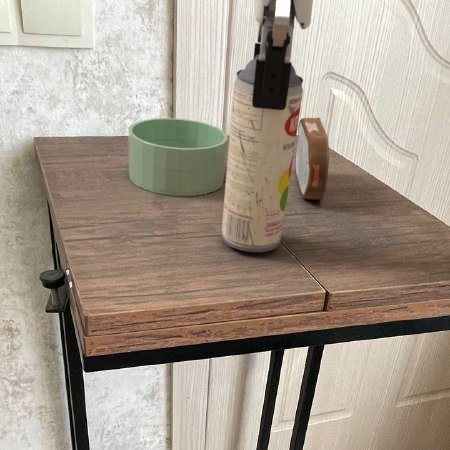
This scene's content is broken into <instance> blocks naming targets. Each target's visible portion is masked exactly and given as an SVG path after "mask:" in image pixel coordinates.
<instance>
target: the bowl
mask: <svg viewBox="0 0 450 450" xmlns="http://www.w3.org/2000/svg"><path fill="white" fill-rule="evenodd" d="M228 137H229V135H228V134H227V133H226V131H224V130H222V129H221V128H219V127H217V126H215V125H213V124H210V123H206V122H202V121H199V120H193V119H189V118H188V119H186V118H177V117H162V118H161V117H159V118H158V117H157V118H149V119H142V120H139V121H136V122H134V123H133V124H131V125H130V126H129V127H128V130H127V148H128V149H127V150H128V151H127V152H128V155H127V157H128V160H127V161H128V177H129V180H130V181H131V183H132V184H134V185H135V186H137V187H139V188H140V187H141V188H140V189H142V188H143V190H145V191H147V190H148V192H151V193H155V194H158V195H163V196H164V195H165V196H171V197H172V196H173V197H198V196H204V195H208V194H207V193H209V194H211V193H210V192H212V193H214V192H216V191H215V190H217V189H218V190H220V189H221V188H222V187H223V186H224V184H225V183H224V182H225V174H226V173H225V172H226V162H227V161H226V160H227V152H228V150H227V149H228V140H229V139H228ZM219 188H220V189H219ZM218 190H217V191H218ZM213 191H214V192H213ZM203 194H204V195H203ZM197 195H198V196H197Z"/></svg>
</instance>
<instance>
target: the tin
mask: <svg viewBox="0 0 450 450" xmlns="http://www.w3.org/2000/svg"><path fill="white" fill-rule="evenodd" d="M297 134H298V135H297V146H296V151H295V157H294V159H295V160H294V161H295V163H294V164H295V165H294V167H295V176H296V181H297V184H298V188H299V192H300V195H301V198H302V199H303V200H314V201H315V200H317V201H322V200H324V197H325V194H326V190H327V185H328V179H329V178H328V177H329V176H328V175H329V166H330V165H329V164H330V145H329V144H330V142H329V137H328V134H327V132H326V129H325V127H324V124H323V122H322V120H321V117H320V116H319V117H302V118H300V119H299V122H298V128H297Z"/></svg>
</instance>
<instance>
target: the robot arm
mask: <svg viewBox="0 0 450 450" xmlns="http://www.w3.org/2000/svg"><path fill="white" fill-rule="evenodd" d="M313 4H314V0H253V5H254V7H253V8H254V17H255V21H256V22H257V23H258V31H257V42H255V43H254V50H253V59H255V56H256V55H260V59H256V68H255V78H254V88H253V98H252V105H253V107H255V108H264V109H275V110H284V109H285V108H286V102H287V95H288V87H289V80H290V73H291V65H292V66H293V63H292V62H291V58H292V48H293V40H294V39H293V37H294V29H295V19H296V22H297V23H298V25H299V27H300V28H301V30H306V29H308V27H310V26H311V21H312V13H313ZM267 42H268V44H267Z"/></svg>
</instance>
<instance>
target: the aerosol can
mask: <svg viewBox="0 0 450 450" xmlns="http://www.w3.org/2000/svg"><path fill="white" fill-rule="evenodd" d="M267 44H268V42H267ZM256 59H260V55H256V56H255V59H254V58H253V59H251V60H249V61H248V63H247V64H245V67H244V68H243V69H239V70H238V71H236V74H235V76H236V78H235V80H234V82H233V92H232V93H233V94H232V104H231V115H230V119H231V120H230V126H229V127H230V128H229V139H228V150H227V152H228V153H227V161H226V162H227V164H226V173H225V174H226V176H225V186H224V187H225V188H224V200H223V209H222V210H223V211H222V220H221V221H222V222H221V223H222V224H221V232H220V233H221V235H220V236H221V240H222V241H223V243H225V244H226V245H228V246H229V247H231V248H232V249H233V248H234V249H236V250H239V251H243V252H249V253H264V252H269V251H271V250H272V251H273V250H276V249H277V248H278V247H279V246H280V245H281V242H282V234H283V229H284V222H285V214H286V209H287V202H288V194H289V189H290V182H291V174H292V168H293V161H294V154H295V148H296V143H297V142H296V141H297V136H298V135H297V134H298V126H299V122H300V115H301V114H300V113H301V107H302V101H303V95H304V94H303V93H304V89H303V83H304V79H303V78H302V77H301V76H299V74H298V75H297V73H296V69H295V67H294V65H293V64H292V65H291V73H290V80H289V87H288V95H287V102H286V108H285V109H284V110H275V109H264V108H255V107H253V105H252V98H253V88H254V78H255V68H256Z"/></svg>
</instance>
